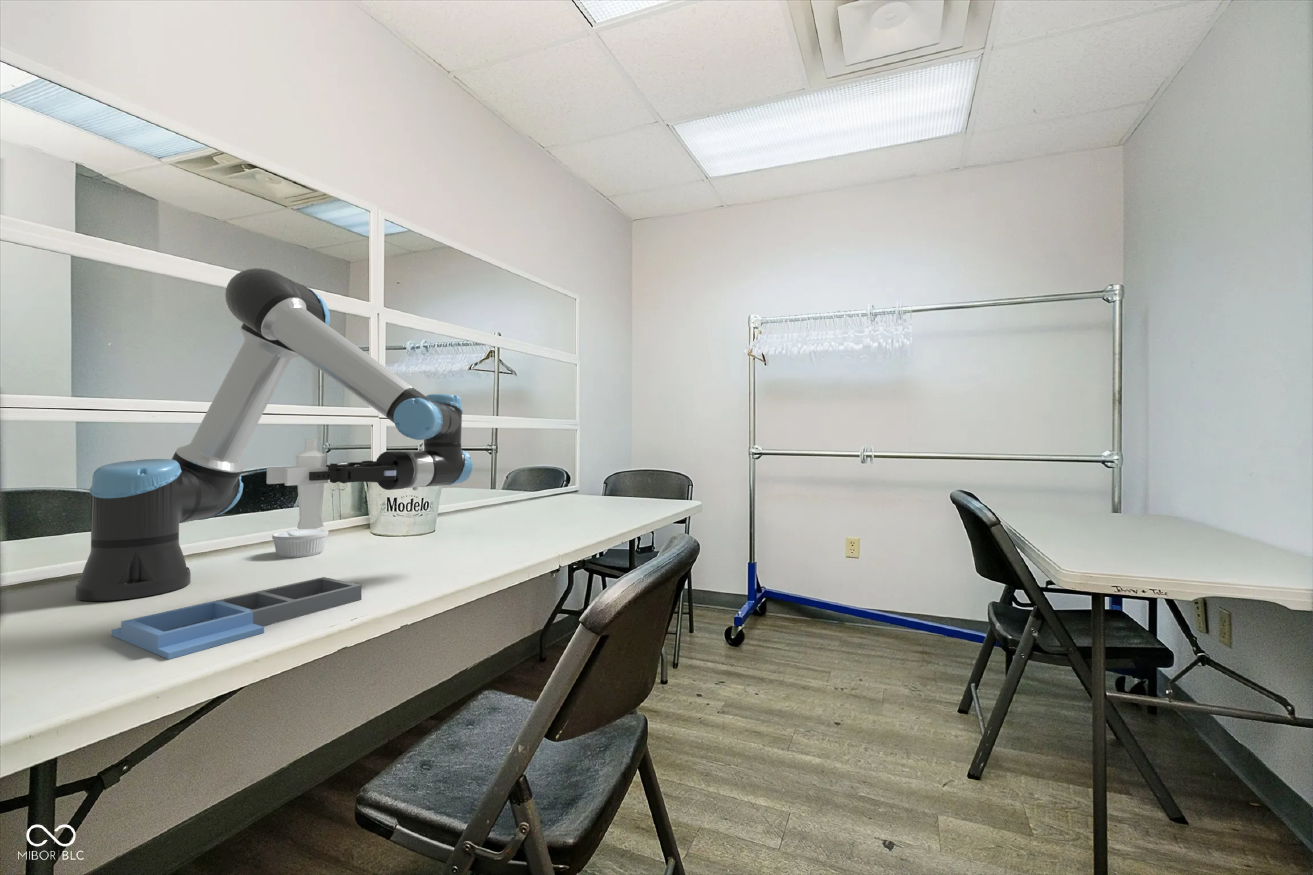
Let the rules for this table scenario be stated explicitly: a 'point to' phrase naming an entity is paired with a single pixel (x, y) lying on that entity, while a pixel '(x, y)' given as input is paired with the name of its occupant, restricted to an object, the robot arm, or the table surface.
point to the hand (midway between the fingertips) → (277, 476)
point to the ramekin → (300, 542)
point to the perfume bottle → (310, 487)
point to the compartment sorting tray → (233, 617)
